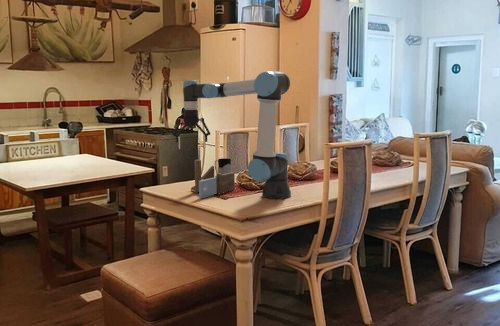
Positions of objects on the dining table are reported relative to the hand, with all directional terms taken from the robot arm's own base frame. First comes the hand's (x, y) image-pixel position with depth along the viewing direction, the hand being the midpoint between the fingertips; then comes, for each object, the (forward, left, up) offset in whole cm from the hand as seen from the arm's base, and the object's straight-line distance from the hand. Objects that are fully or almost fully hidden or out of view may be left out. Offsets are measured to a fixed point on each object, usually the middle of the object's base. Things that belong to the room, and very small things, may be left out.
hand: (192, 148), depth 284 cm
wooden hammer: (-4, -4, -25) cm, 25 cm away
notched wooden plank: (-14, -10, -24) cm, 30 cm away
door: (-15, +4, -24) cm, 29 cm away
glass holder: (+3, -28, -25) cm, 38 cm away
